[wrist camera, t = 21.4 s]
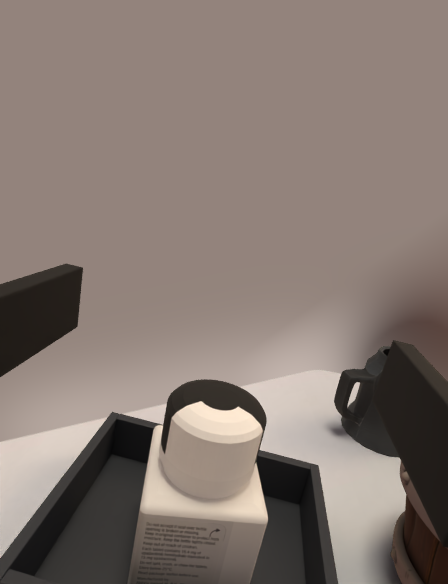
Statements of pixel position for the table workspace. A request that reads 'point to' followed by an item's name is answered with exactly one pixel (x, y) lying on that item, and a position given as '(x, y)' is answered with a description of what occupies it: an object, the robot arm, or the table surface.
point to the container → (202, 490)
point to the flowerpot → (417, 542)
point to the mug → (364, 405)
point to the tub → (125, 510)
